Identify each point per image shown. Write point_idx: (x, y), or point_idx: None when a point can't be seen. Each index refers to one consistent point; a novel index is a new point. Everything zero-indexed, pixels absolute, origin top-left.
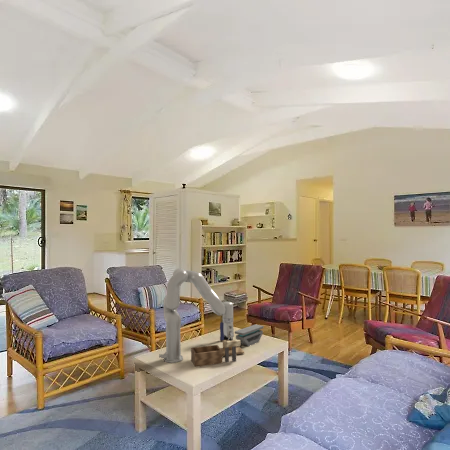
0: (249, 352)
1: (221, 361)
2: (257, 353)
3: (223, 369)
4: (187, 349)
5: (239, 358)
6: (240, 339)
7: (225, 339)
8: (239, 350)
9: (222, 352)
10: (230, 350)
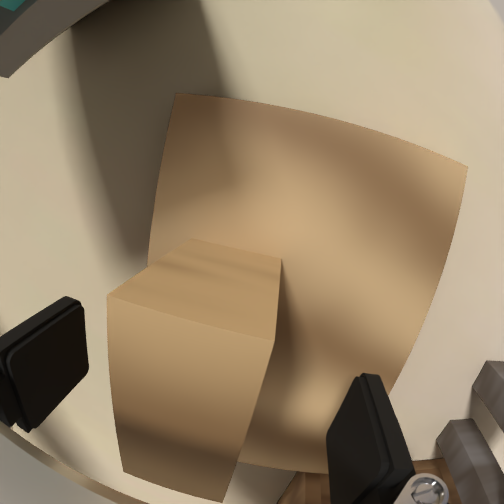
0: (417, 63)
1: (444, 472)
2: (475, 27)
3: (497, 460)
4: None
5: (496, 303)
6: (88, 7)
7: (57, 384)
8: (393, 204)
9: (303, 440)
10: (301, 334)
